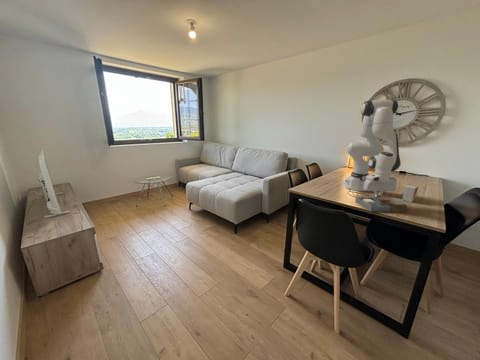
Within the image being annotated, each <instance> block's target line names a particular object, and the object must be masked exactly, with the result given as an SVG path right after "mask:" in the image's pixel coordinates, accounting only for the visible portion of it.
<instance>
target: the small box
mask: <svg viewBox="0 0 480 360" xmlns="http://www.w3.org/2000/svg"><path fill="white" fill-rule="evenodd" d="M404 187H405V188H404V191H403V195H402V199H401V200H403V201H404V202H408V203H409V202H410V203H413V202H414V201H415V200H416V197H417V194H418V193H417V192H418V189H419V186H417V185H412V184H408V185H406V186H404Z"/></svg>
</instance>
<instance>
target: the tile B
mask: <svg viewBox="0 0 480 360" xmlns="http://www.w3.org/2000/svg"><path fill="white" fill-rule="evenodd" d="M390 202H391V203H393V204H395V205H404V204H405V201H404V200H402V199H400V198H397V197H396V198H395V197H394V198H393V197H390Z"/></svg>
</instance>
